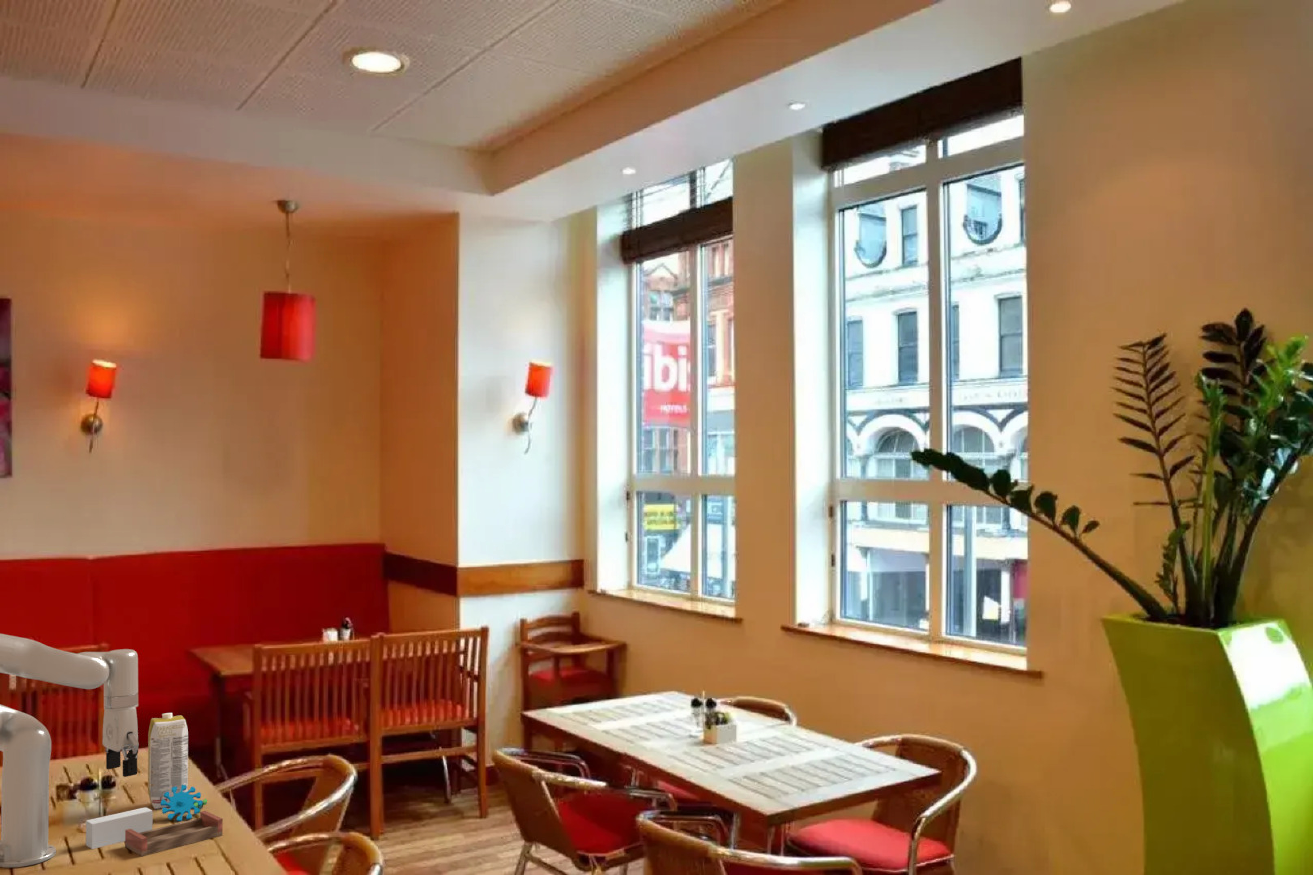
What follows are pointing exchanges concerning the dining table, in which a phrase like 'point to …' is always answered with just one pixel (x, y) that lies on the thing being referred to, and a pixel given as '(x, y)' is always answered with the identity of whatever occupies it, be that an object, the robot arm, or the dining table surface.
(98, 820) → the long white brick
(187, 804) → the blue spiky virus model
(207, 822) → the cradle
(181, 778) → the juice carton
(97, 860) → the dining table surface
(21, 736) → the robot arm
